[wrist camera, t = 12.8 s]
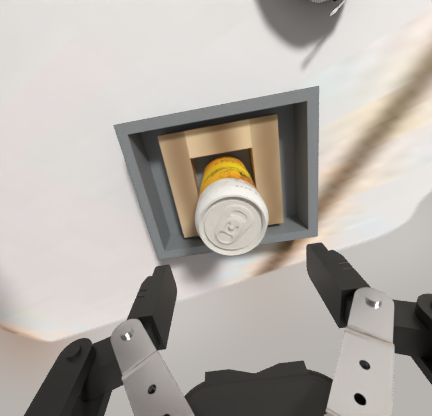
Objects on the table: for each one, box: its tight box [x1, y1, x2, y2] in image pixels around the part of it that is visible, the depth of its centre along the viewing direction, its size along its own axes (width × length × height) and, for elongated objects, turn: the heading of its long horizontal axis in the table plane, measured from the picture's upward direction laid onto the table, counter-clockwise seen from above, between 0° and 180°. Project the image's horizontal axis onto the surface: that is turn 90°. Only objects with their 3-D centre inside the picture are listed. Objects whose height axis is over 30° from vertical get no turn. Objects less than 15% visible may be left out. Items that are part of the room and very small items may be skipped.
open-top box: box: [113, 86, 319, 260], centre depth 29 cm, size 22×18×6 cm
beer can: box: [195, 155, 269, 256], centre depth 24 cm, size 6×6×15 cm
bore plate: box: [157, 114, 284, 238], centre depth 30 cm, size 14×14×3 cm
